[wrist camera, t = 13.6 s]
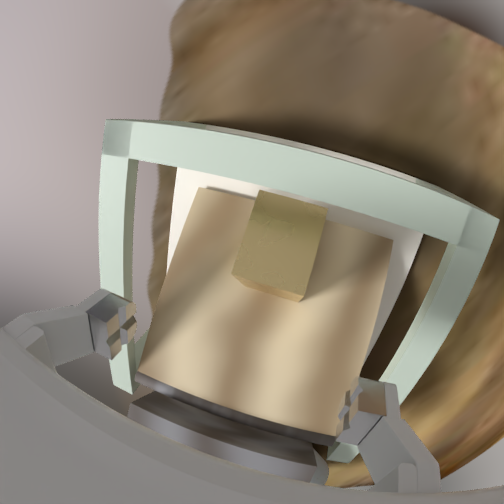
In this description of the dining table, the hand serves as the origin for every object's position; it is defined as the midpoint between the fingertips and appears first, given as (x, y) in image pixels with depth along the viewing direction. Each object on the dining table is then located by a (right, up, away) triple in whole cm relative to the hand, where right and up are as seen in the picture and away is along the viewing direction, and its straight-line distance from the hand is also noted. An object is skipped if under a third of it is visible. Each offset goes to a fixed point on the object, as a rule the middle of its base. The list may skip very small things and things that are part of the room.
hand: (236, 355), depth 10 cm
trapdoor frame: (+3, +2, +16) cm, 17 cm away
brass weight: (+3, +3, +12) cm, 13 cm away
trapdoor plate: (+1, -5, +13) cm, 14 cm away
